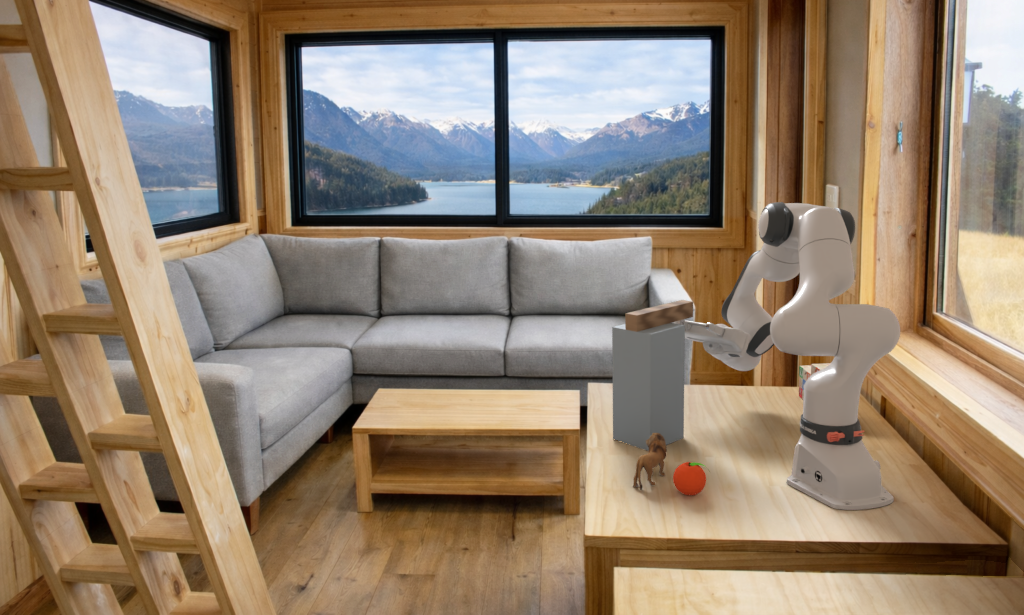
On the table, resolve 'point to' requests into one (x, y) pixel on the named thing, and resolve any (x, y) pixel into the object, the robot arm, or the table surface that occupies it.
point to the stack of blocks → (808, 374)
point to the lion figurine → (651, 459)
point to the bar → (658, 315)
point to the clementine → (689, 478)
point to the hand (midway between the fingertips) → (693, 323)
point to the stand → (648, 383)
